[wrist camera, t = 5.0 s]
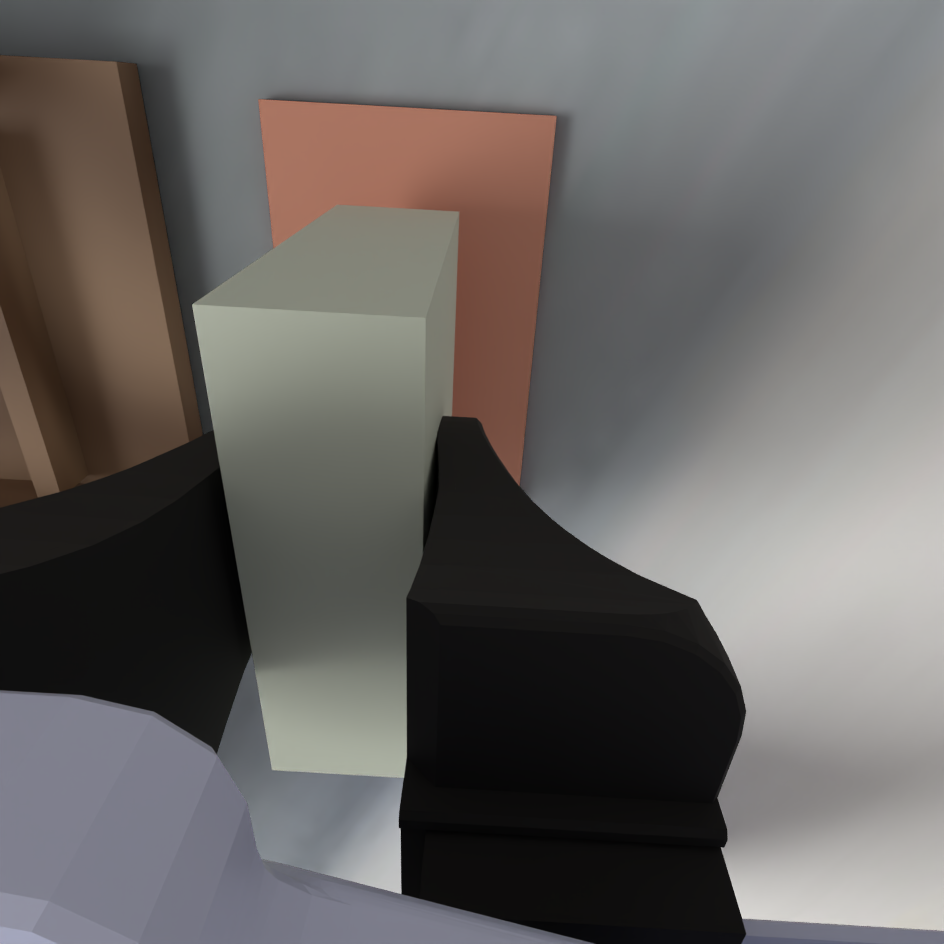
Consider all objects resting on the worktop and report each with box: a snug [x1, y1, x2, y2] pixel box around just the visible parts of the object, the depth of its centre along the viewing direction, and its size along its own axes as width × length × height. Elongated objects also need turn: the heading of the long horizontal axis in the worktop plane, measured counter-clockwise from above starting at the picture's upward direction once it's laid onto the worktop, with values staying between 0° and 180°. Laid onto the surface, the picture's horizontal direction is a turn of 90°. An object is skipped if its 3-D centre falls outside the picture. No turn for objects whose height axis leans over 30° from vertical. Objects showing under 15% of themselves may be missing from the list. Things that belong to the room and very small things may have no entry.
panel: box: [192, 205, 459, 778], centre depth 12 cm, size 8×2×7 cm, turn 177°
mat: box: [258, 99, 557, 486], centre depth 16 cm, size 11×6×1 cm, turn 177°
